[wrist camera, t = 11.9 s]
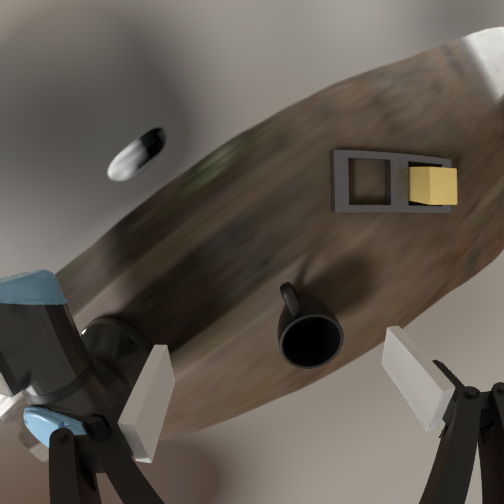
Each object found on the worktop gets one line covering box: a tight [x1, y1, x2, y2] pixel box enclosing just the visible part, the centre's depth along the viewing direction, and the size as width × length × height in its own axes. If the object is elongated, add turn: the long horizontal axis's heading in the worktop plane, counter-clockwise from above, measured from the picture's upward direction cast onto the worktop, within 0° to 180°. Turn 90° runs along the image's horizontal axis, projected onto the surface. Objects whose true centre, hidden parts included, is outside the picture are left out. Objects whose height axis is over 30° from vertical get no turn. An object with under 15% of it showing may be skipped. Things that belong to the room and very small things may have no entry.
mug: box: [278, 282, 343, 369], centre depth 39 cm, size 8×12×10 cm
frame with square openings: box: [330, 150, 451, 213], centre depth 38 cm, size 20×8×2 cm, turn 92°
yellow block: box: [408, 167, 457, 205], centre depth 36 cm, size 5×5×7 cm
